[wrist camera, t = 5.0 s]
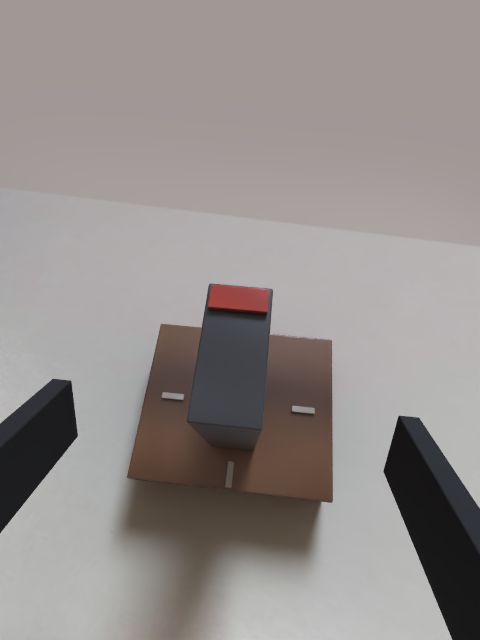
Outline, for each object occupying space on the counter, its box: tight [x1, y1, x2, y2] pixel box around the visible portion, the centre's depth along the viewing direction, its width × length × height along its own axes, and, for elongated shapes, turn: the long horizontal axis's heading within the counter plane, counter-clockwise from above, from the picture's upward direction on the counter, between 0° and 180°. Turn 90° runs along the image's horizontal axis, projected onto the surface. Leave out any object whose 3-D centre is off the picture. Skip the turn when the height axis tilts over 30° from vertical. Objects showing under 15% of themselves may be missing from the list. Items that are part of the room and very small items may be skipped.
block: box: [186, 284, 273, 451], centre depth 17 cm, size 6×3×10 cm, turn 174°
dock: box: [127, 324, 333, 503], centre depth 23 cm, size 10×12×3 cm
